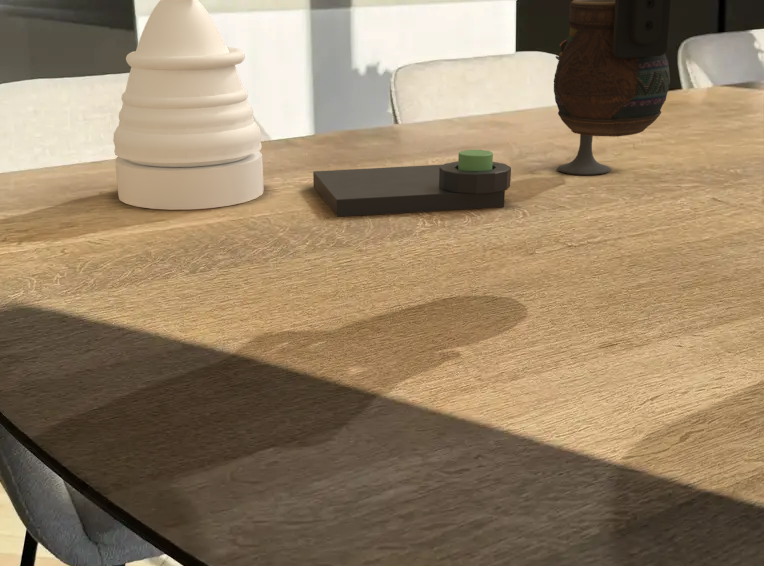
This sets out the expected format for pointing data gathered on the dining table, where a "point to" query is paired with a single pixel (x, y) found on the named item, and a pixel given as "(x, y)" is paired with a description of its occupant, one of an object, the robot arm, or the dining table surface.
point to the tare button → (475, 160)
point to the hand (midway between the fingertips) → (615, 48)
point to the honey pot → (186, 117)
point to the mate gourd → (606, 77)
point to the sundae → (583, 153)
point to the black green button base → (412, 189)
